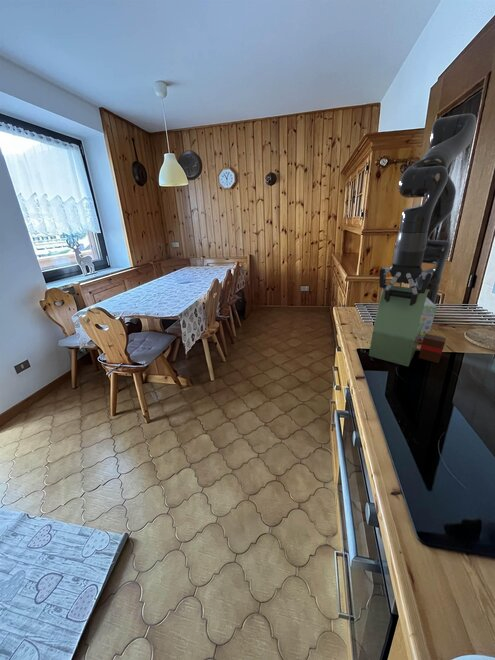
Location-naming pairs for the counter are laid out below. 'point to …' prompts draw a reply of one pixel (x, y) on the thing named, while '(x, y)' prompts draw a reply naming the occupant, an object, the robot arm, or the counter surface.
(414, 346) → the bin
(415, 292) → the robot arm
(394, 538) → the counter surface
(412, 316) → the bin lid
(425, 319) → the snack box
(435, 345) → the chocolate
